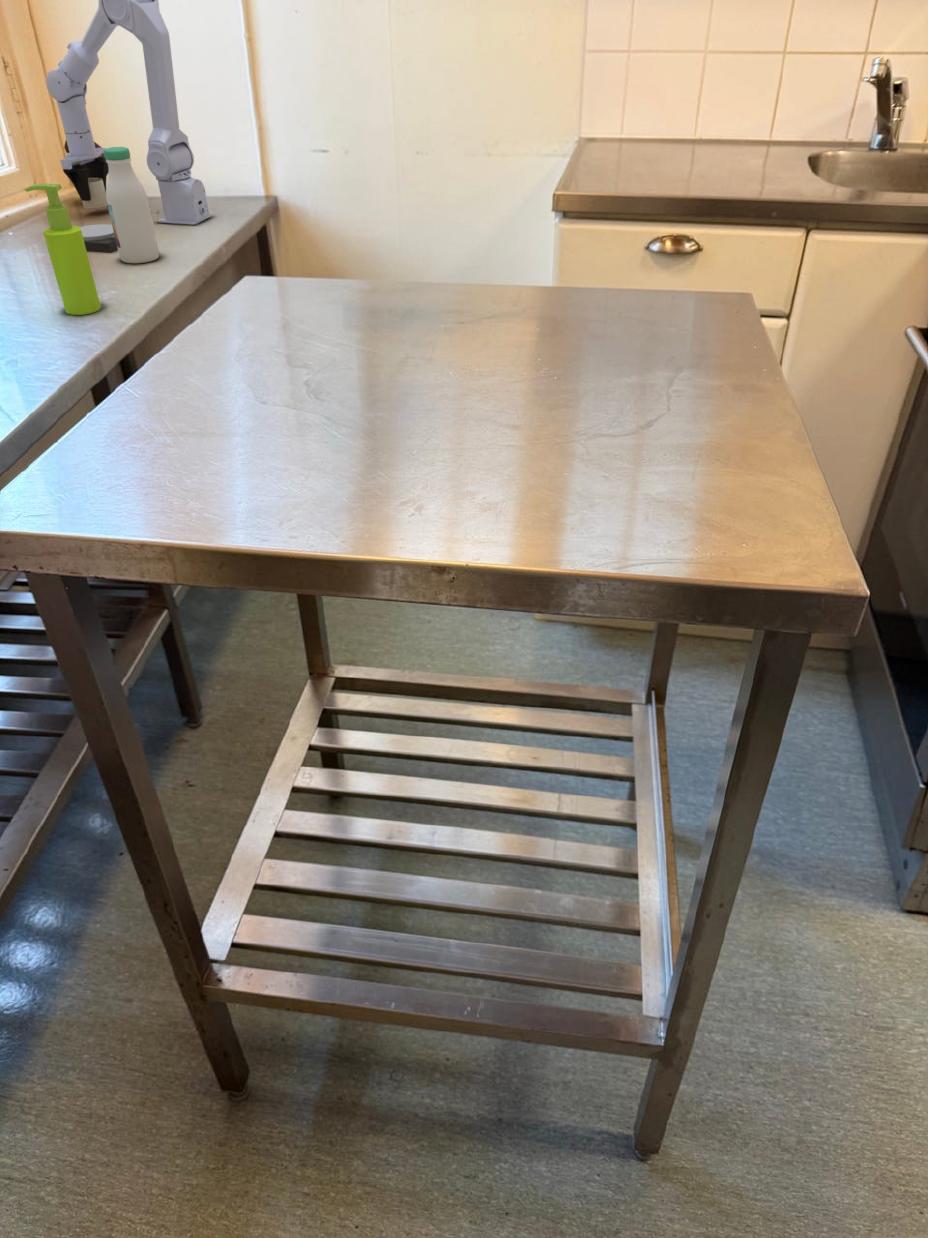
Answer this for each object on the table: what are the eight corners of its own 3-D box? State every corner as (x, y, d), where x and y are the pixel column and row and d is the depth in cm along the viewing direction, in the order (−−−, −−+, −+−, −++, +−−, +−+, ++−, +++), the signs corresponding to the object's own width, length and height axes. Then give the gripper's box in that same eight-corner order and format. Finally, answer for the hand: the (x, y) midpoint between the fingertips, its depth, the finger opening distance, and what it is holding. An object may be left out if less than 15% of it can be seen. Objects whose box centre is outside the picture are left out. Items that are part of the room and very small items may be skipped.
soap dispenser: (67, 303, 158) (33, 180, 146) (105, 303, 158) (74, 180, 146) (54, 314, 154) (17, 188, 141) (93, 314, 153) (60, 188, 141)
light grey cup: (113, 203, 211) (107, 177, 208) (99, 208, 207) (93, 183, 204) (92, 202, 213) (86, 176, 209) (78, 207, 208) (72, 181, 205)
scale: (140, 238, 192) (137, 225, 191) (110, 252, 184) (107, 239, 182) (88, 234, 195) (85, 222, 194) (56, 248, 187) (53, 235, 185)
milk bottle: (167, 254, 182) (145, 145, 170) (145, 265, 176) (120, 153, 164) (135, 251, 184) (111, 143, 172) (112, 262, 178) (85, 150, 166)
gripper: (82, 125, 207) (97, 189, 215) (42, 136, 196) (60, 203, 204) (108, 126, 205) (123, 190, 214) (69, 137, 194) (86, 204, 203)
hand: (94, 197), depth 209 cm, fingers closed on light grey cup, 5 cm apart
